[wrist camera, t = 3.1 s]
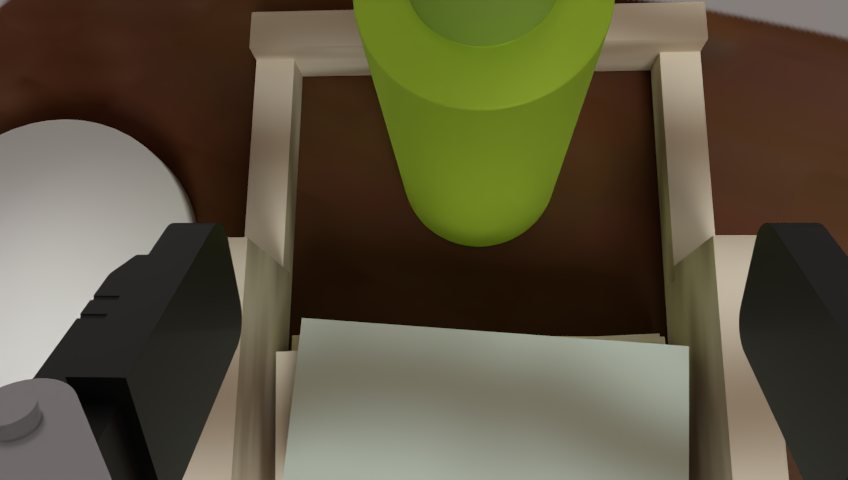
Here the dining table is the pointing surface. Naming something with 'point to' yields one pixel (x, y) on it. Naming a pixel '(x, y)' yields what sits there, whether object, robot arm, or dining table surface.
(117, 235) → the ceramic trivet
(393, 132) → the soap dispenser
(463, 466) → the offcut rack
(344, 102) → the dining table surface
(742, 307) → the robot arm
